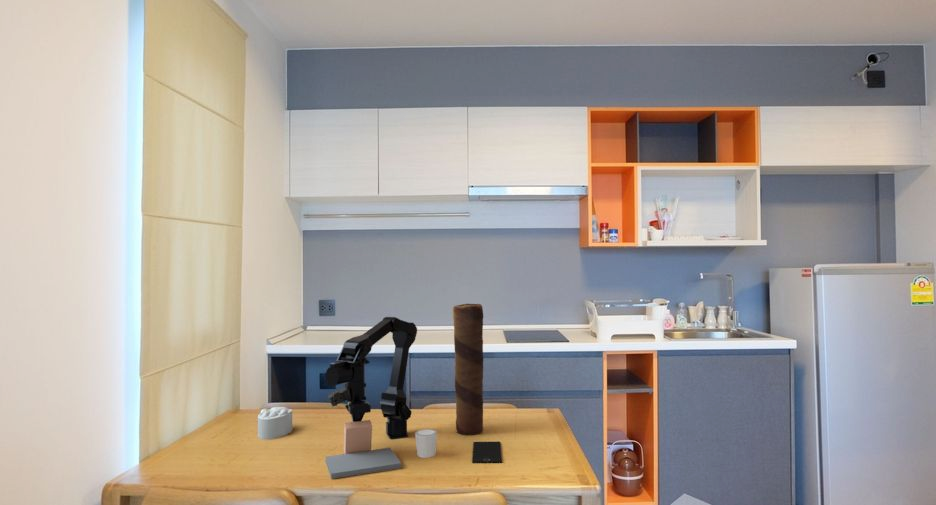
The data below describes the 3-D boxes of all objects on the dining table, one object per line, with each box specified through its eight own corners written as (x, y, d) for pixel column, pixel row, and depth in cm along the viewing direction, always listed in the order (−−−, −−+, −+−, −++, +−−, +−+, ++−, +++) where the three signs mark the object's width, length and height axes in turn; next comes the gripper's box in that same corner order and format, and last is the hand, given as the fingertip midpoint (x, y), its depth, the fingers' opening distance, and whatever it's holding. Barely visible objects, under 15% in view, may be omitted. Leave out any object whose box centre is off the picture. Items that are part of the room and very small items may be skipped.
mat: (390, 452, 173) (390, 447, 173) (401, 468, 159) (401, 463, 159) (325, 461, 166) (325, 456, 166) (331, 479, 152) (331, 473, 152)
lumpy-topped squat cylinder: (296, 428, 199) (295, 404, 200) (278, 440, 187) (278, 414, 187) (269, 427, 201) (269, 404, 201) (250, 439, 188) (250, 414, 188)
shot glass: (420, 460, 166) (420, 436, 166) (412, 453, 172) (411, 430, 172) (441, 456, 169) (440, 433, 169) (432, 449, 175) (431, 427, 175)
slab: (368, 448, 175) (370, 419, 172) (371, 454, 171) (372, 425, 169) (343, 451, 172) (344, 422, 169) (345, 457, 168) (346, 428, 166)
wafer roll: (480, 437, 186) (478, 305, 187) (451, 434, 189) (449, 305, 190) (489, 428, 196) (487, 303, 197) (461, 425, 199) (459, 302, 200)
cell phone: (472, 464, 162) (472, 461, 162) (473, 444, 180) (473, 441, 180) (502, 464, 162) (501, 461, 162) (500, 444, 180) (500, 441, 180)
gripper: (326, 376, 179) (326, 424, 178) (333, 388, 161) (333, 441, 161) (360, 373, 183) (361, 420, 182) (370, 384, 165) (371, 436, 165)
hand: (356, 429), depth 173 cm, fingers closed
